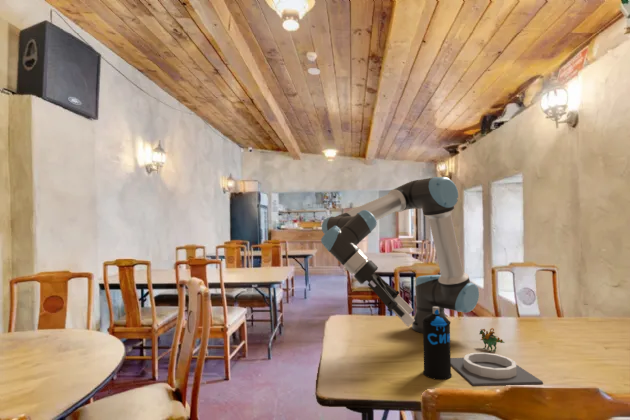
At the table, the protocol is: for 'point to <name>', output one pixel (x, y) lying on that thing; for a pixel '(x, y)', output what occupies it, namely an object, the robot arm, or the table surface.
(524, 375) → the can holder
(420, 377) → the table surface
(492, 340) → the figurine
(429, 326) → the aerosol can
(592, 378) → the table surface
